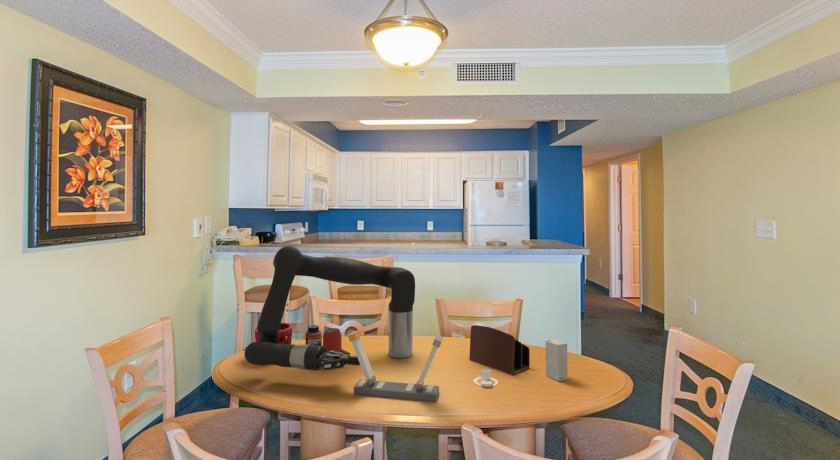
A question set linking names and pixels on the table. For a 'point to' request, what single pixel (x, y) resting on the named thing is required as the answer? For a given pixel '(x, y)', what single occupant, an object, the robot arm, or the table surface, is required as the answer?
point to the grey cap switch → (429, 362)
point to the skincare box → (556, 359)
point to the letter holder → (498, 350)
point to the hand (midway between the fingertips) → (360, 361)
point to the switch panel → (397, 390)
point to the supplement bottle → (313, 335)
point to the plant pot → (280, 334)
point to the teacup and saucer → (485, 379)
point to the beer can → (332, 339)
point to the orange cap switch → (362, 357)
